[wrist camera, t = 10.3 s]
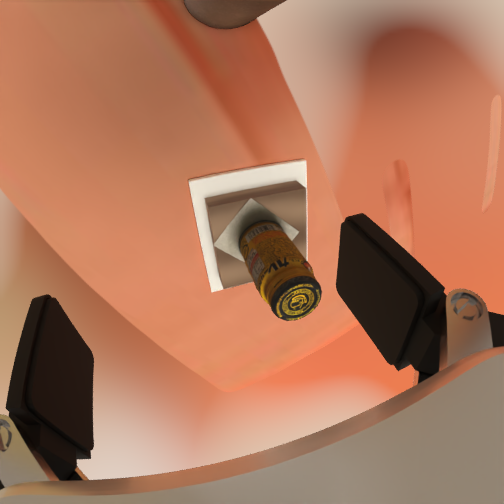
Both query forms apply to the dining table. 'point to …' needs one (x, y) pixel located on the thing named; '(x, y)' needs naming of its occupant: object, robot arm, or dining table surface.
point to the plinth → (272, 198)
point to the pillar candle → (229, 11)
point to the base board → (233, 183)
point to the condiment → (272, 260)
